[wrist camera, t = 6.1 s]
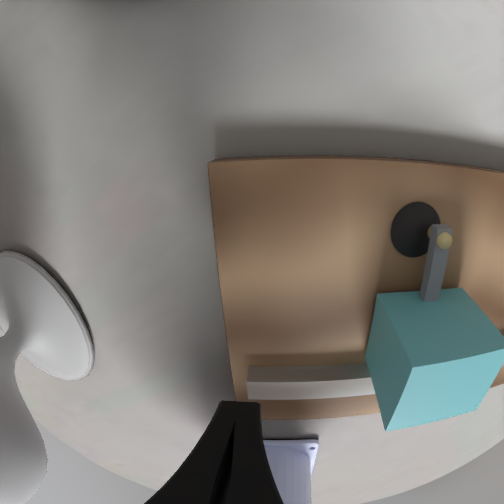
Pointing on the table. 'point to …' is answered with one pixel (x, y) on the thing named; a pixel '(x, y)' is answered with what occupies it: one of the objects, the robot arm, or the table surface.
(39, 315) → the chalice
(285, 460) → the robot arm
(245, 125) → the table surface
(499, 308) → the board
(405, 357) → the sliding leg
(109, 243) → the table surface
